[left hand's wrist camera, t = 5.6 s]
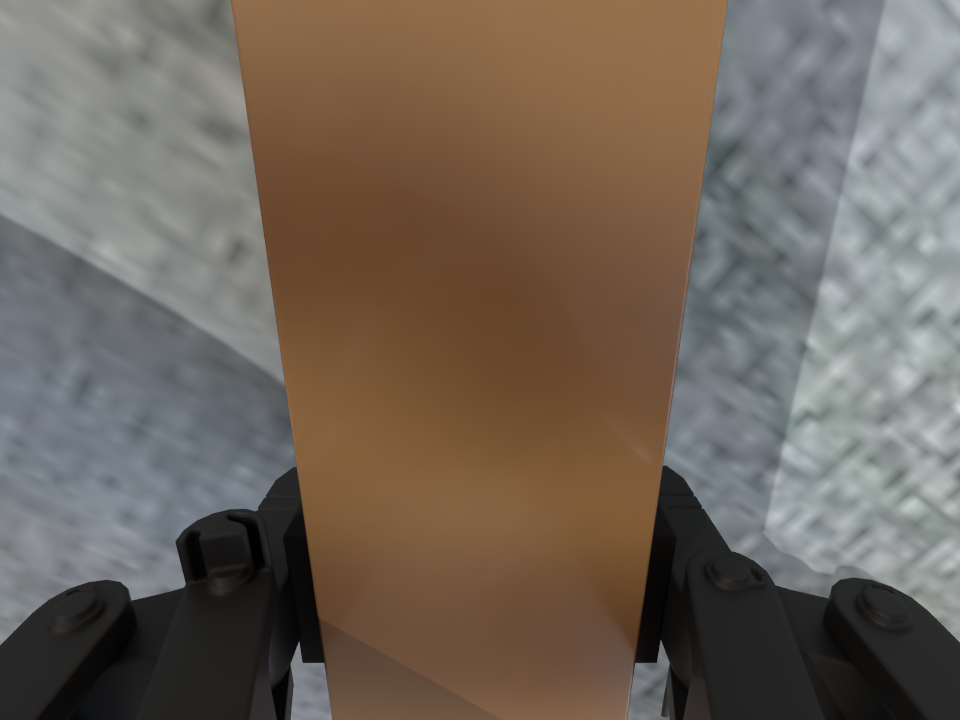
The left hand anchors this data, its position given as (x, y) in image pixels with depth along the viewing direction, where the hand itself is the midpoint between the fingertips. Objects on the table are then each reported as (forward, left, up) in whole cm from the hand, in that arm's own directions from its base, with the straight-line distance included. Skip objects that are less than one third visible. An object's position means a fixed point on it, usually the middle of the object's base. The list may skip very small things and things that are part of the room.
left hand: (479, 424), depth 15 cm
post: (+3, +25, -1) cm, 25 cm away
